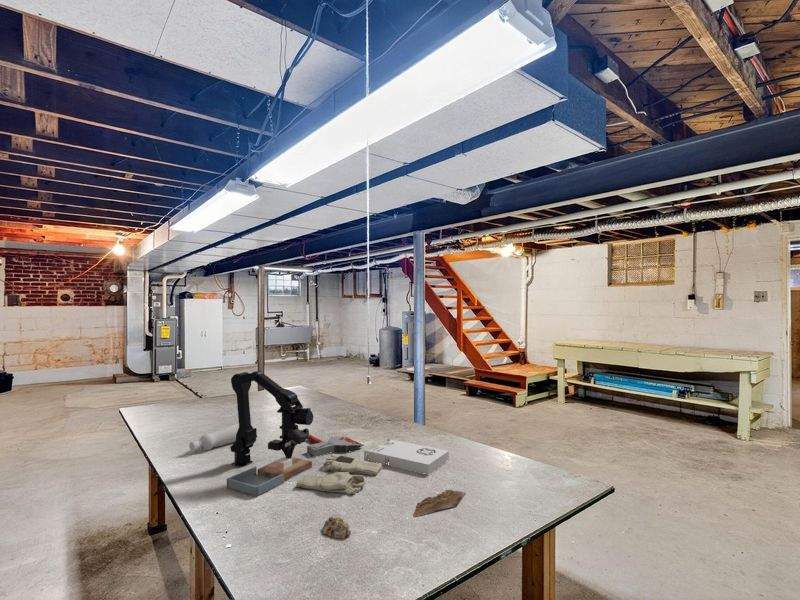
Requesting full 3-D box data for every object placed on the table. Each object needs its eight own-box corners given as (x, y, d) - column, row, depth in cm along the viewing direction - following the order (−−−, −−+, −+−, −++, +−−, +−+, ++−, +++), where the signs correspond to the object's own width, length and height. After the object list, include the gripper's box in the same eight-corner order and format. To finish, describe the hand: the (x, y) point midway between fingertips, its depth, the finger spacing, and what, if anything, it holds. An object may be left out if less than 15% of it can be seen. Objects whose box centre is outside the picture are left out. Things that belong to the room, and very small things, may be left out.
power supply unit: (387, 449, 198) (387, 438, 198) (448, 462, 181) (448, 450, 181) (363, 461, 182) (363, 450, 182) (428, 477, 165) (428, 464, 165)
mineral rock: (314, 523, 124) (336, 507, 130) (318, 535, 125) (338, 519, 130) (334, 538, 116) (356, 521, 122) (338, 551, 117) (359, 533, 123)
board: (257, 475, 166) (257, 469, 166) (287, 461, 181) (287, 455, 181) (282, 482, 159) (282, 475, 159) (311, 467, 174) (311, 461, 174)
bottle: (239, 429, 219) (184, 447, 194) (245, 416, 216) (190, 433, 191) (248, 441, 215) (193, 460, 190) (254, 428, 212) (199, 446, 187)
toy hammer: (332, 427, 221) (363, 441, 197) (332, 434, 221) (363, 449, 197) (291, 436, 206) (319, 452, 182) (291, 444, 206) (319, 461, 182)
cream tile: (274, 467, 168) (274, 461, 168) (283, 463, 172) (283, 457, 172) (283, 469, 165) (283, 463, 165) (292, 465, 170) (292, 459, 170)
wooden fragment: (453, 488, 153) (453, 485, 153) (476, 499, 144) (476, 496, 144) (400, 510, 137) (400, 507, 137) (422, 523, 128) (422, 520, 128)
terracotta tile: (265, 471, 163) (265, 465, 163) (274, 467, 168) (274, 461, 168) (274, 473, 161) (274, 467, 161) (283, 469, 165) (283, 463, 165)
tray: (226, 488, 154) (226, 478, 154) (255, 475, 166) (255, 466, 166) (256, 497, 146) (256, 487, 146) (284, 482, 158) (284, 473, 158)
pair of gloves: (333, 461, 181) (333, 449, 182) (385, 469, 172) (385, 456, 172) (292, 489, 153) (292, 475, 153) (352, 500, 144) (352, 485, 144)
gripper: (287, 431, 160) (287, 471, 160) (317, 419, 176) (318, 456, 176) (266, 428, 165) (266, 466, 165) (298, 417, 182) (298, 452, 181)
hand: (288, 460), depth 172 cm, fingers closed
